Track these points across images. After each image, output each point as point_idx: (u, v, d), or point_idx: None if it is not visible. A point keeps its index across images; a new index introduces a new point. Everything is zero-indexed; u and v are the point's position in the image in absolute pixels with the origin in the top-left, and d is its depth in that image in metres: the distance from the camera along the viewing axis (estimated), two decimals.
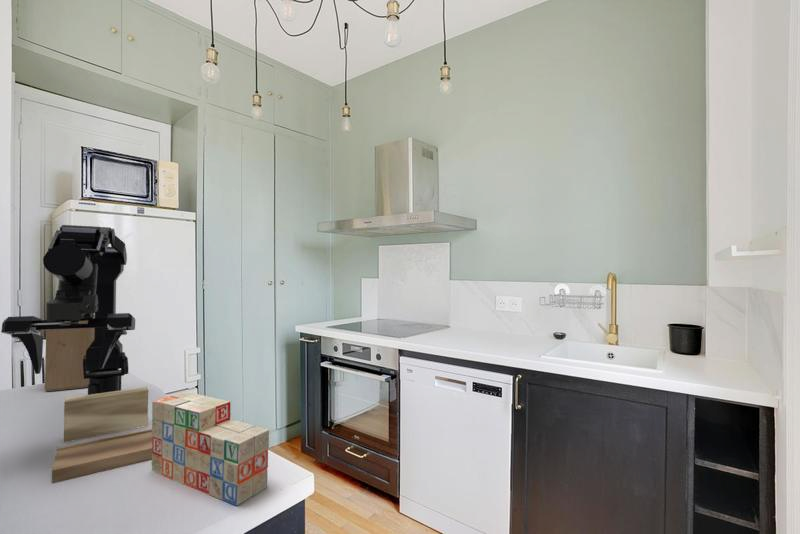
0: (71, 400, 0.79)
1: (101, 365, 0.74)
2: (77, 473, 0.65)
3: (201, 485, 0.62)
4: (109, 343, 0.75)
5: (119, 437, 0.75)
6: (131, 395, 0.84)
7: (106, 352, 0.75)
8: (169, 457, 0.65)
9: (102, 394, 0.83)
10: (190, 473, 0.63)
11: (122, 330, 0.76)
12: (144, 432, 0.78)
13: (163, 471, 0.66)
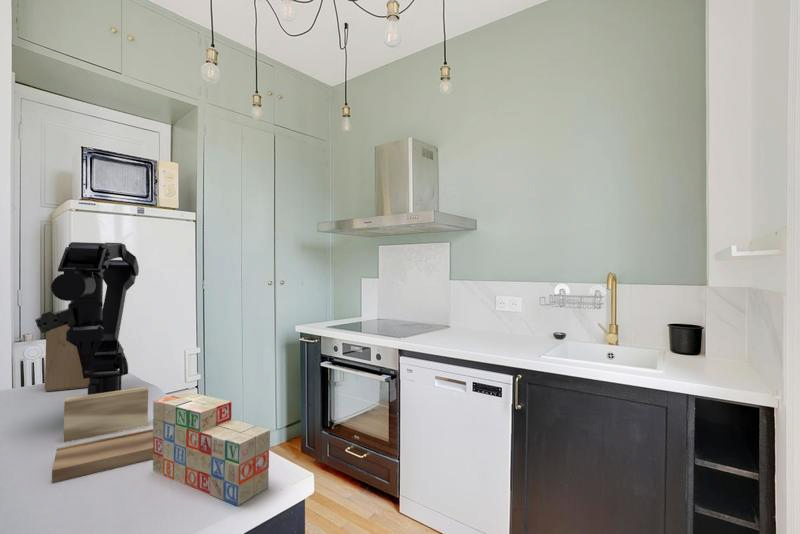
0: (71, 400, 0.79)
1: (81, 366, 0.87)
2: (77, 473, 0.65)
3: (202, 485, 0.62)
4: None
5: (119, 437, 0.75)
6: (131, 395, 0.84)
7: (79, 357, 0.86)
8: (170, 457, 0.65)
9: (102, 394, 0.83)
10: (191, 473, 0.63)
11: (70, 341, 0.83)
12: (144, 432, 0.78)
13: (164, 471, 0.66)
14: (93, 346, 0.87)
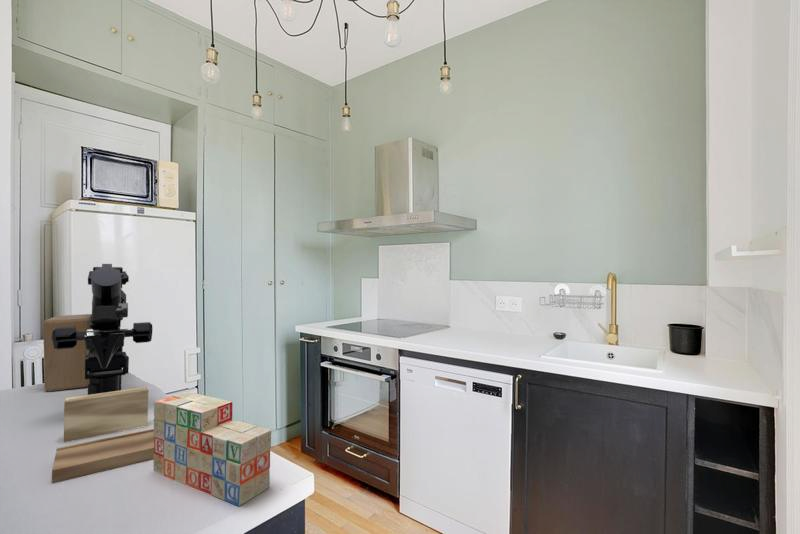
0: (71, 400, 0.79)
1: (105, 364, 0.89)
2: (77, 473, 0.65)
3: (203, 485, 0.62)
4: (112, 346, 0.92)
5: (119, 437, 0.75)
6: (131, 395, 0.84)
7: (110, 353, 0.91)
8: (171, 457, 0.65)
9: (102, 394, 0.83)
10: (192, 473, 0.63)
11: (123, 335, 0.93)
12: (144, 432, 0.78)
13: (165, 471, 0.66)
14: (114, 349, 0.94)
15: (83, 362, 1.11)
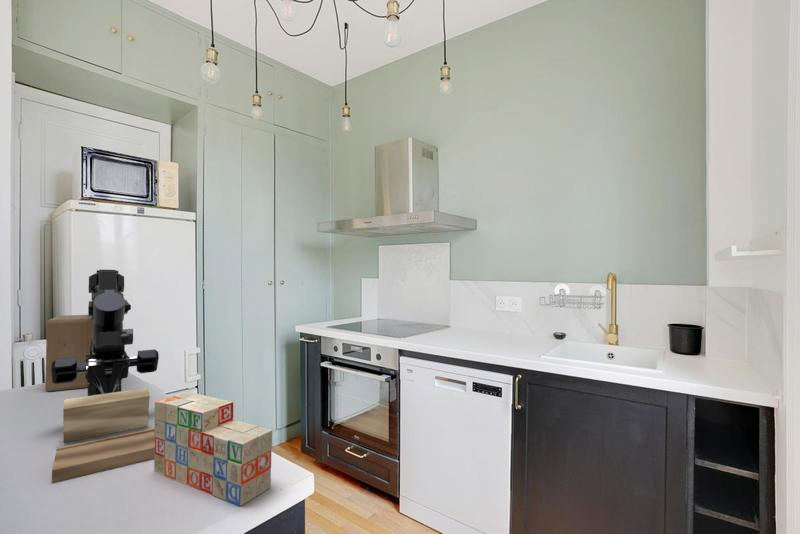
0: (70, 406, 0.77)
1: None
2: (77, 473, 0.65)
3: (204, 486, 0.62)
4: (116, 376, 0.85)
5: (119, 437, 0.75)
6: (132, 401, 0.82)
7: (114, 384, 0.84)
8: (172, 457, 0.65)
9: (102, 397, 0.80)
10: (193, 474, 0.63)
11: (128, 363, 0.87)
12: (144, 432, 0.78)
13: (166, 472, 0.66)
14: (118, 380, 0.87)
15: None
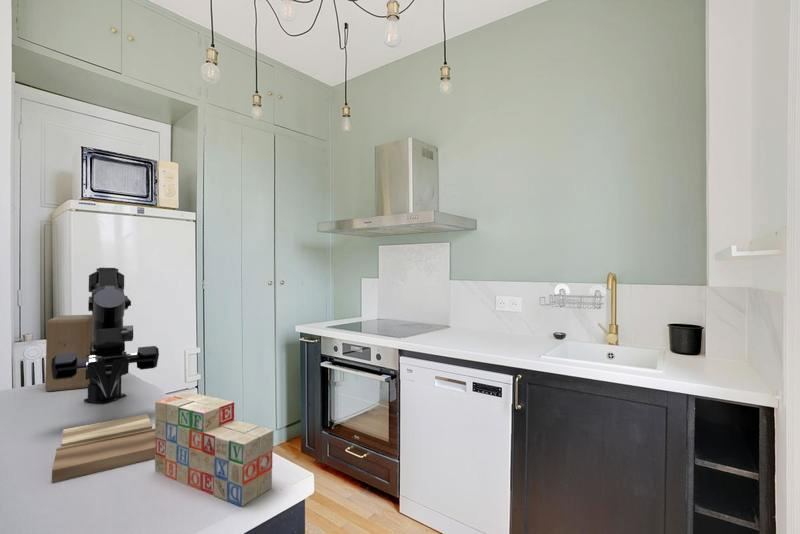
0: None
1: (110, 392, 0.83)
2: (77, 473, 0.65)
3: (205, 486, 0.61)
4: (116, 373, 0.85)
5: (119, 437, 0.75)
6: None
7: (114, 380, 0.84)
8: (173, 458, 0.65)
9: None
10: (194, 474, 0.63)
11: (128, 360, 0.87)
12: (144, 432, 0.78)
13: (167, 472, 0.66)
14: (118, 377, 0.87)
15: None
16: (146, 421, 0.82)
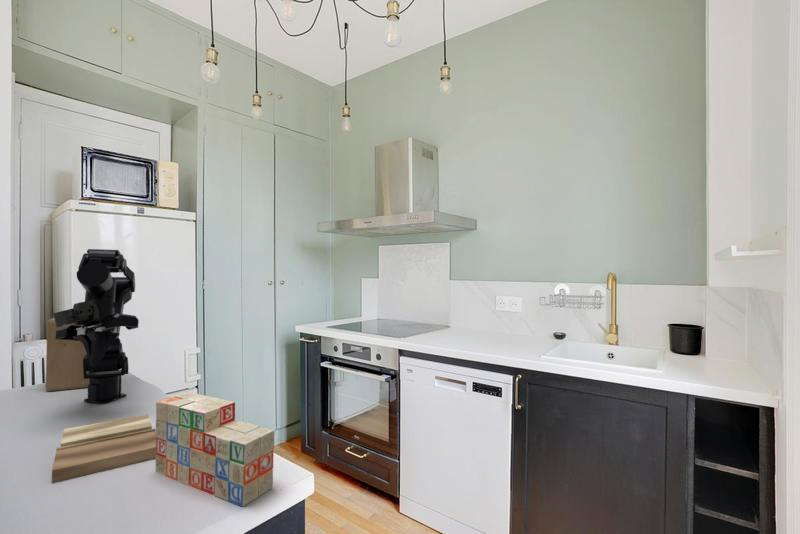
0: None
1: (92, 362, 0.89)
2: (77, 473, 0.65)
3: (206, 486, 0.61)
4: (94, 344, 0.89)
5: (119, 437, 0.75)
6: None
7: (93, 351, 0.89)
8: (173, 458, 0.65)
9: None
10: (195, 474, 0.63)
11: (97, 332, 0.88)
12: (144, 432, 0.78)
13: (167, 472, 0.66)
14: (108, 342, 0.92)
15: None
16: (146, 421, 0.82)
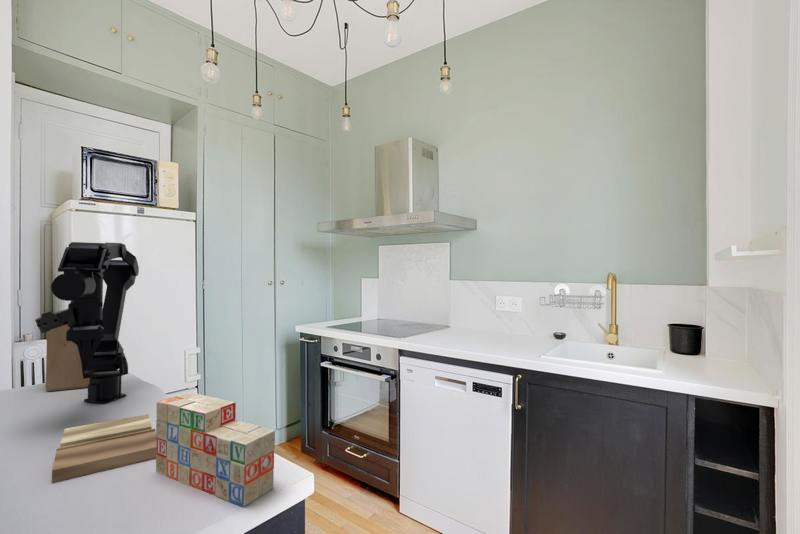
0: None
1: (81, 364, 0.89)
2: (77, 473, 0.65)
3: (207, 486, 0.61)
4: None
5: (119, 437, 0.75)
6: None
7: (79, 354, 0.88)
8: (174, 458, 0.65)
9: None
10: (195, 474, 0.63)
11: None
12: (144, 432, 0.78)
13: (168, 472, 0.66)
14: (93, 344, 0.89)
15: None
16: (146, 422, 0.82)
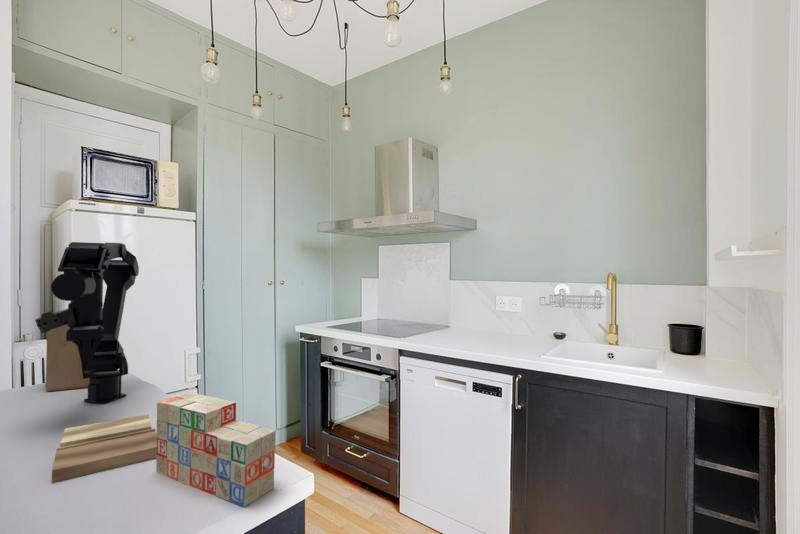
0: None
1: (81, 364, 0.89)
2: (77, 473, 0.65)
3: (207, 486, 0.61)
4: None
5: (119, 437, 0.75)
6: None
7: (79, 354, 0.88)
8: (174, 458, 0.65)
9: None
10: (196, 474, 0.62)
11: None
12: (144, 432, 0.78)
13: (168, 472, 0.66)
14: (93, 344, 0.89)
15: None
16: (146, 422, 0.82)
